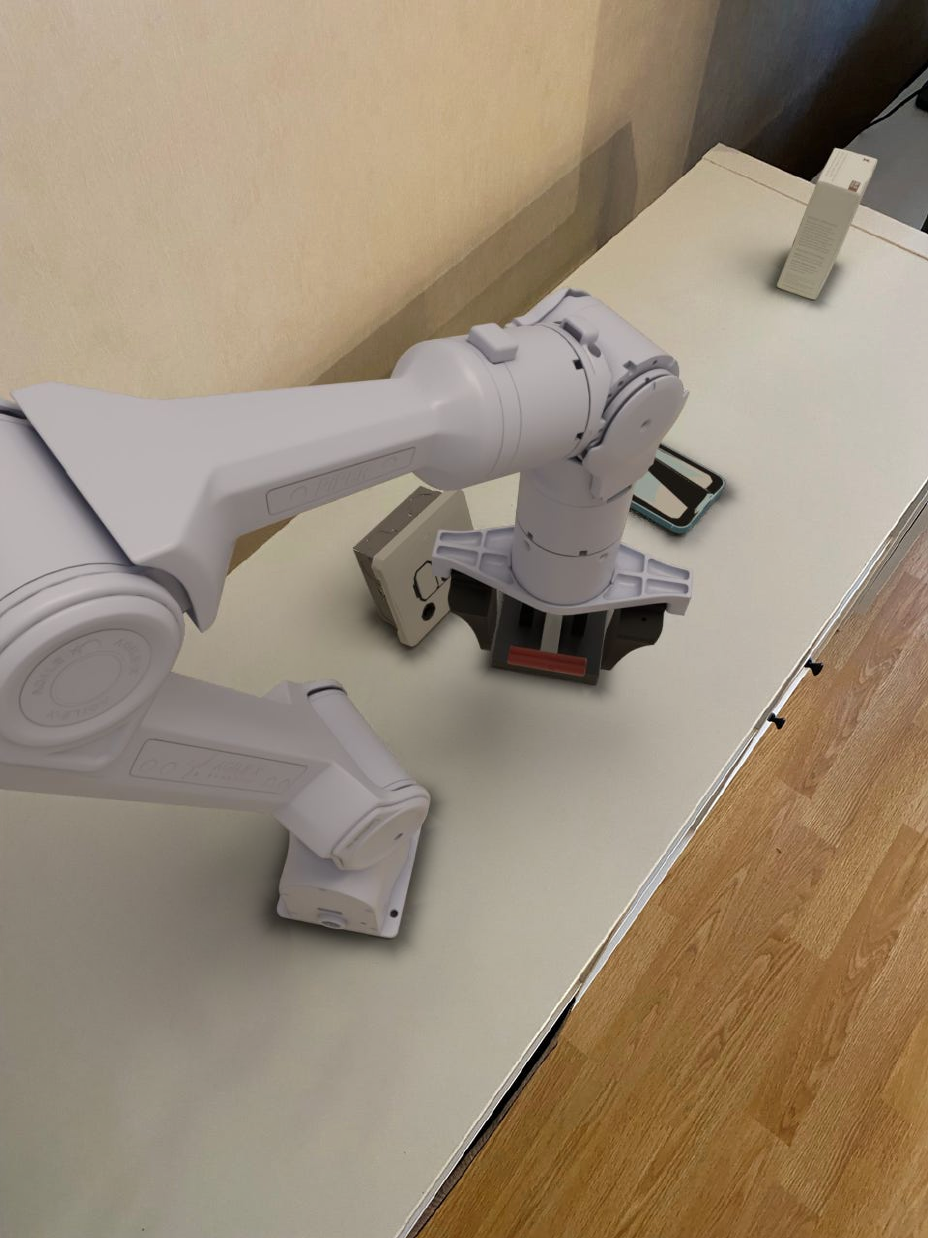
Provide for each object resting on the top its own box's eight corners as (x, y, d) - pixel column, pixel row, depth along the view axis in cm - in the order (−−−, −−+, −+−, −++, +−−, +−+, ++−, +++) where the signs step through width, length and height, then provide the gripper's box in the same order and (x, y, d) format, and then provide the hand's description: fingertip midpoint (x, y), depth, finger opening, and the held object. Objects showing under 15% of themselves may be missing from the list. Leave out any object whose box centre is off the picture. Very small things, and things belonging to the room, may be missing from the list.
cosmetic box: (792, 254, 99) (832, 142, 89) (835, 268, 98) (880, 156, 88) (774, 289, 96) (813, 177, 86) (817, 304, 95) (862, 192, 85)
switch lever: (581, 687, 63) (587, 659, 61) (505, 674, 63) (509, 646, 62) (593, 583, 72) (598, 556, 71) (527, 572, 73) (531, 545, 71)
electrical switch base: (596, 685, 72) (610, 634, 66) (490, 667, 73) (495, 614, 66) (611, 567, 78) (626, 510, 72) (514, 551, 78) (519, 493, 72)
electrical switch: (410, 653, 73) (396, 577, 66) (360, 620, 75) (341, 543, 68) (486, 575, 77) (481, 495, 70) (437, 546, 79) (427, 465, 72)
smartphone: (585, 399, 87) (730, 479, 81) (584, 407, 87) (728, 487, 82) (535, 446, 83) (683, 533, 78) (535, 454, 84) (681, 540, 79)
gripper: (714, 475, 52) (665, 613, 63) (448, 436, 53) (447, 578, 64) (708, 582, 48) (657, 707, 59) (422, 537, 49) (426, 668, 61)
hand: (547, 646), depth 62 cm, fingers open, 7 cm apart
